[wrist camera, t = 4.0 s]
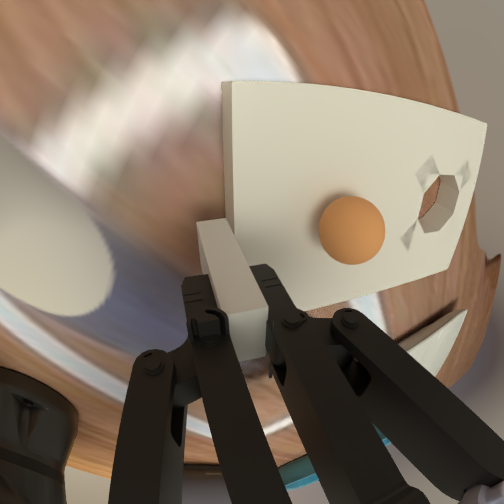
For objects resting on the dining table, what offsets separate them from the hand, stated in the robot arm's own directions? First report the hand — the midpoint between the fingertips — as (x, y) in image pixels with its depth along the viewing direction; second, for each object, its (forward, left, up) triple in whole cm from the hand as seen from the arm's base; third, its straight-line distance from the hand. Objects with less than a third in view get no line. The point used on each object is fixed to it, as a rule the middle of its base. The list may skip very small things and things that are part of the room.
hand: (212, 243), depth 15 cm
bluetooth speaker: (-53, +8, -4) cm, 54 cm away
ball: (0, -8, +1) cm, 8 cm away
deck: (0, -13, -4) cm, 13 cm away
